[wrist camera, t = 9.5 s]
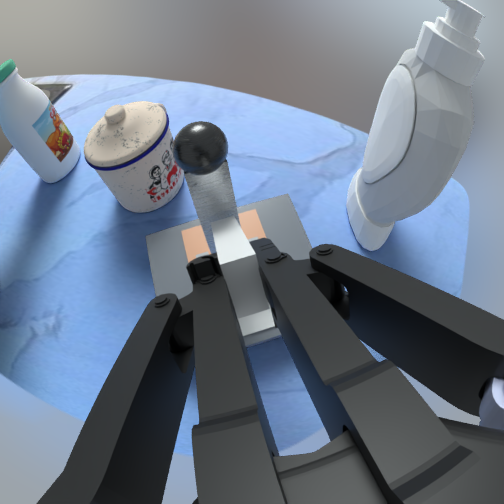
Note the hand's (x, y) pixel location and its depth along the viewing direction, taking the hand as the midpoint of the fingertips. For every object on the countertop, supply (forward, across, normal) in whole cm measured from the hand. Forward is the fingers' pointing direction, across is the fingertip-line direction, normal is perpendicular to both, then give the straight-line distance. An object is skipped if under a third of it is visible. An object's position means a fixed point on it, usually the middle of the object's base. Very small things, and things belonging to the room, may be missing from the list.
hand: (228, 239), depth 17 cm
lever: (+4, 0, -4) cm, 5 cm away
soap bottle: (+10, +14, -4) cm, 18 cm away
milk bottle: (+25, -21, +11) cm, 34 cm away
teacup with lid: (+18, -6, +4) cm, 20 cm away
